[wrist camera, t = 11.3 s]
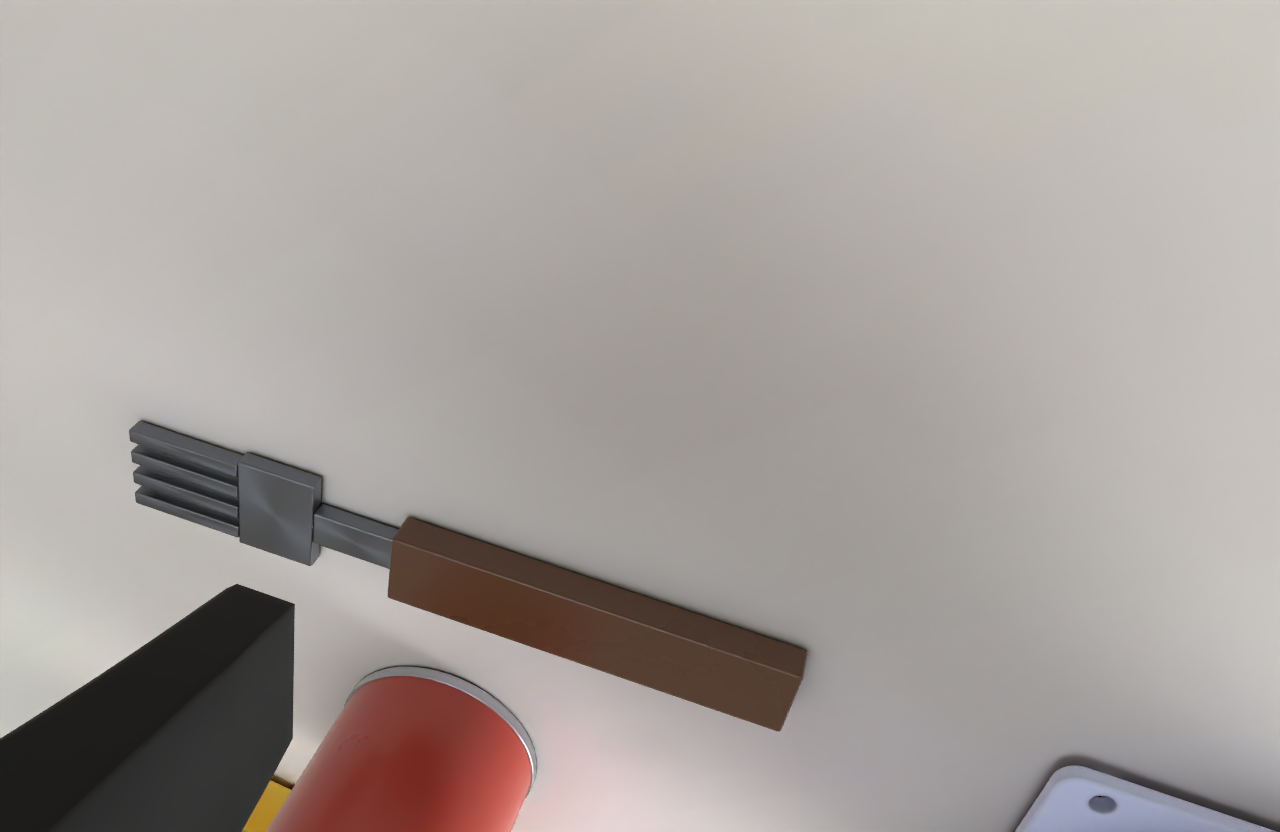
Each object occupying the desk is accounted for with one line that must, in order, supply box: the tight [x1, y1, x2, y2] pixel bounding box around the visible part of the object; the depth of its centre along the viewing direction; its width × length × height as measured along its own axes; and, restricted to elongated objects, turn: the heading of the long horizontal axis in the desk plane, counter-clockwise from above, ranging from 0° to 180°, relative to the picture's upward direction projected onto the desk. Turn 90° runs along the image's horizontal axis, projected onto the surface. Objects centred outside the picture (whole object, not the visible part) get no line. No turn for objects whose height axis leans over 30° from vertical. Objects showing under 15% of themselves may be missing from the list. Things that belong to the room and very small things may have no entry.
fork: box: [129, 421, 808, 731], centre depth 24 cm, size 15×2×1 cm, turn 78°
